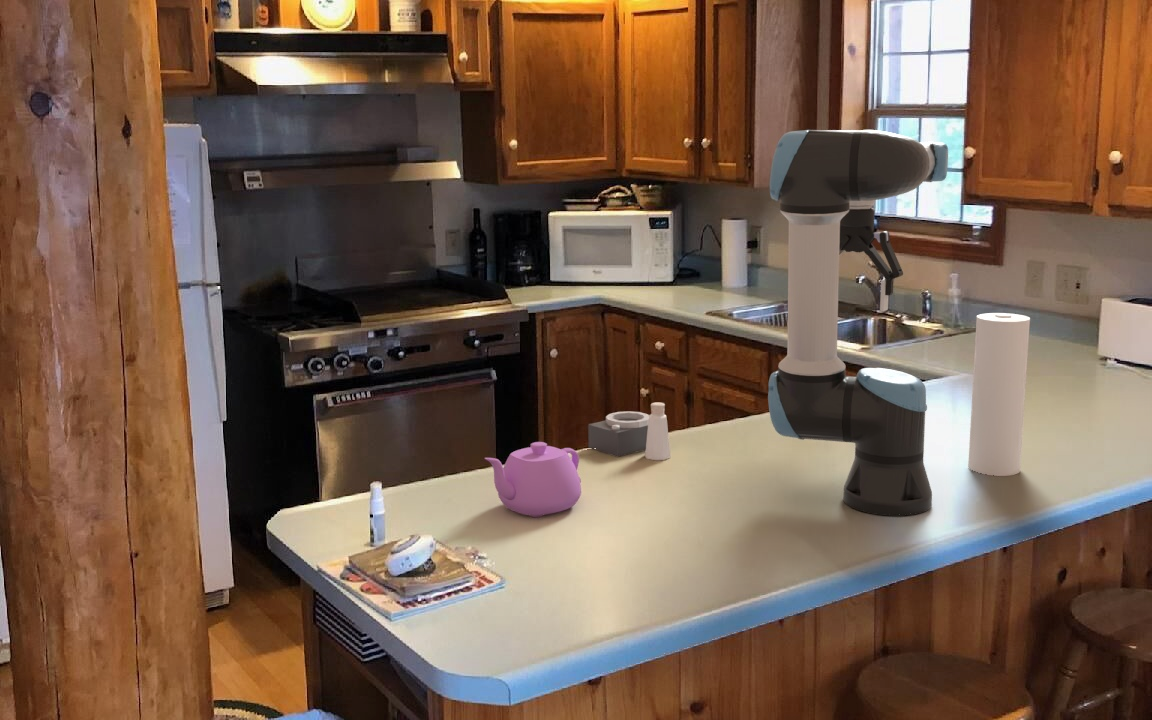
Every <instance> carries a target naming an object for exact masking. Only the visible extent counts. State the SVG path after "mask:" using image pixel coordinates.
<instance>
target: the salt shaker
mask: <svg viewBox="0 0 1152 720" xmlns="http://www.w3.org/2000/svg"><path fill="white" fill-rule="evenodd" d="M665 406H666V404H665V402H651V404H650V412H651V413H650V414H648V415H649V421H648V431H647V441H646V450H644V456H645V459H647V460H651V461H665V460H667V459H670V458H671V448H670V438H669V429H668V427H669V426H667V421H668V420H667V415H666V414H665Z"/></svg>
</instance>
